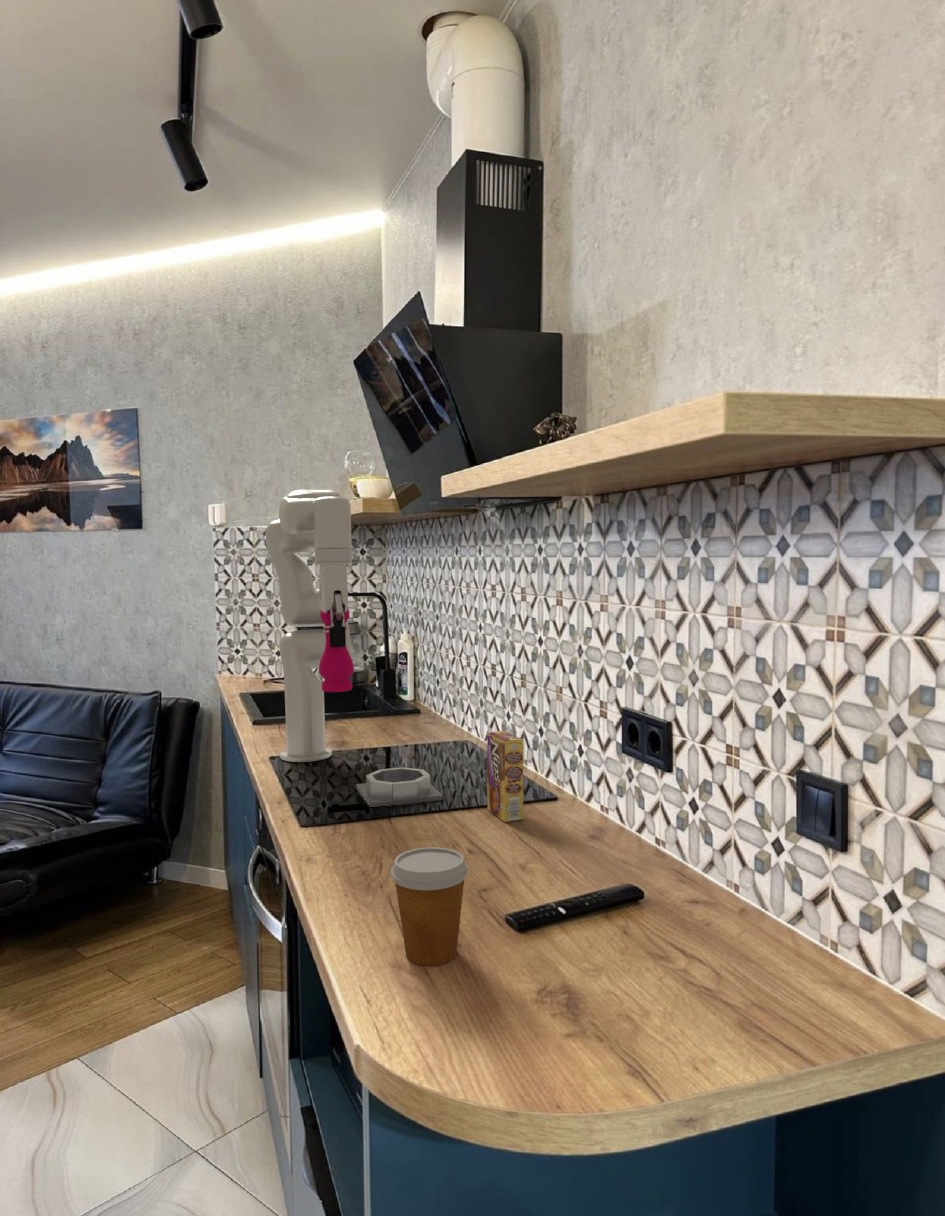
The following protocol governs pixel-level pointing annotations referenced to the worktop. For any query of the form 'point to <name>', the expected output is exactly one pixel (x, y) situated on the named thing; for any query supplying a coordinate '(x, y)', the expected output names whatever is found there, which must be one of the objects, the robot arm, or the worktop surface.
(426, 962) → the disposable coffee cup
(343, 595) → the robot arm
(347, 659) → the pepper mill
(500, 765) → the candy box
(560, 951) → the worktop surface
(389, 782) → the collar stand
